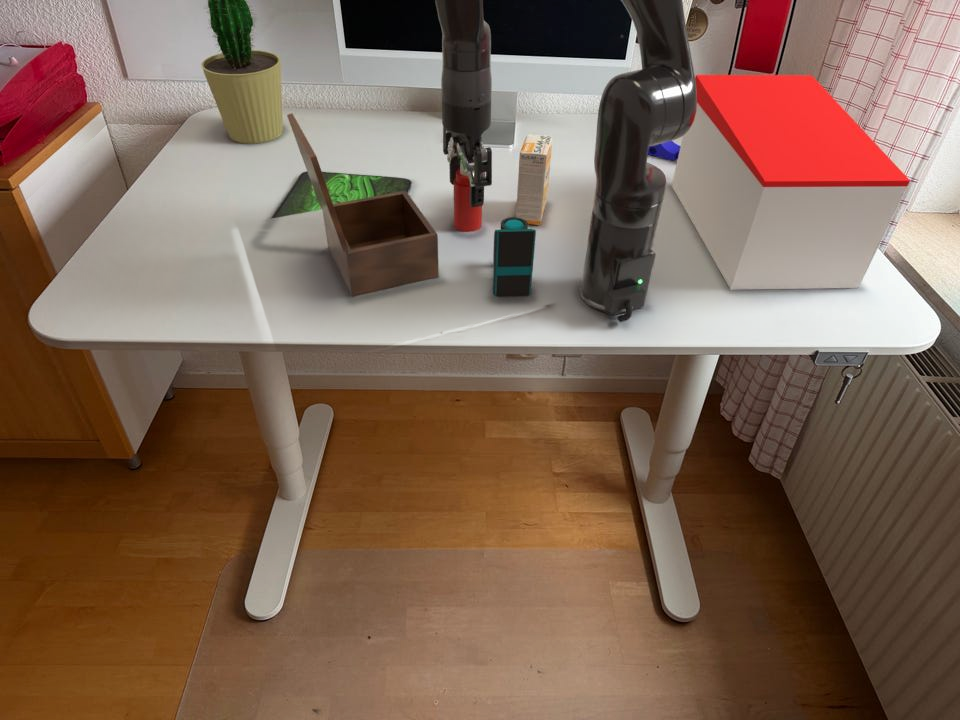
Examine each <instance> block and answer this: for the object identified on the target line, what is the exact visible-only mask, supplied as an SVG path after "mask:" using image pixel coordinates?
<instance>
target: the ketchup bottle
mask: <svg viewBox="0 0 960 720" xmlns="http://www.w3.org/2000/svg"><path fill="white" fill-rule="evenodd" d="M469 165H474V163H470V164H469ZM473 174H474V171H473ZM482 221H483V205H482V206H479V207H472V206H471V205H470V181H469V177H468V174H467V173H466V172H464V169H463V165H462V161H461V162H460V169H459V170H457V171H456V178H455V179H454V185H453V227H454V228H455V229H456V230H457V231H459V232H463V233H473V232H476V231H478V230H480V229H481V228H482V224H483V223H482Z"/></svg>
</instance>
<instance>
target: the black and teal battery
mask: <svg viewBox="0 0 960 720" xmlns="http://www.w3.org/2000/svg"><path fill="white" fill-rule="evenodd" d="M499 228H500V229H495V230H494V233H493V252H492V253H493V254H492V256H493V257H492V259H493V262H492V263H493V271H492V272H493V273H492V274H493V275H492V293H493V294H492V295H493V296H494V297H497V298H505V297H506V298H507V297H529V296H531V293H532V281H533V271H534V270H533V269H534V260H535V258H534V257H535V248H536V236H537V235H536V234H537V230H536V229H535V228H529V224H528V223H527V221H525V220H524V219H522V218H518V217H516V216H510V217H509V216H508V217H505V218H503V219H502V220H501V221H500V227H499Z"/></svg>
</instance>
